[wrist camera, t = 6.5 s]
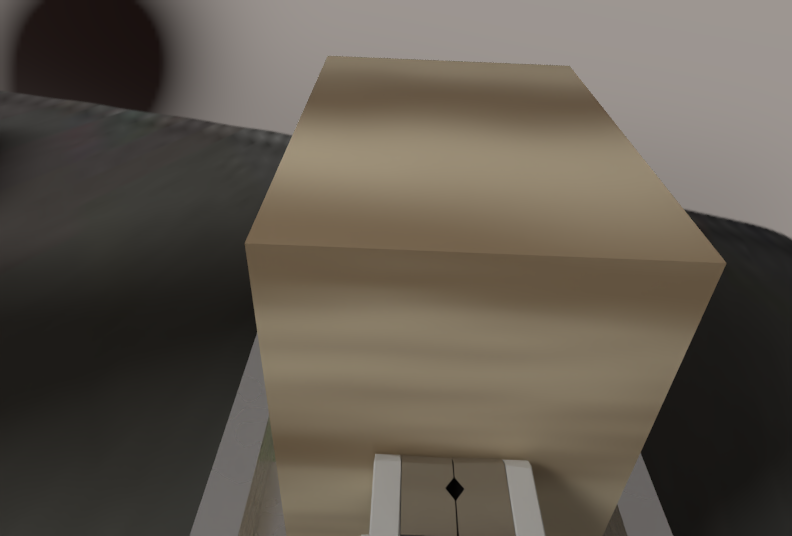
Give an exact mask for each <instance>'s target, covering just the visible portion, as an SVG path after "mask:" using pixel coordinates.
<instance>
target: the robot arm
mask: <svg viewBox="0 0 792 536" xmlns="http://www.w3.org/2000/svg"><path fill="white" fill-rule="evenodd" d="M361 536H546V534H545V529H544V524H543V520H542V515H541V510H540V505H539V500H538V495H537V490H536V485H535V480H534V476H533V471H532V466H531V464H530V463H529V461H528V460H502V459H500V458H461V457H452V458H442V457H425V456H408V455H393V454H375V459H374V468H373V484H372V499H371V515H370V530H369V534H362V535H361Z"/></svg>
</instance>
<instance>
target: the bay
mask: <svg viewBox="0 0 792 536" xmlns="http://www.w3.org/2000/svg"><path fill="white" fill-rule="evenodd" d="M190 536H286V529H285V522H284V515H283V508H282V501H281V494H280V487H279V480H278V473H277V466H276V459H275V452H274V445H273V438H272V431H271V424H270V417H269V410H268V403H267V396H266V389H265V382H264V375H263V368H262V361H261V354H260V347H259V340H258V333H257V334H256V337H255V340H254V343H253V346H252V349H251V352H250V355H249V359H248V362H247V365H246V368H245V371H244V374H243V377H242V380H241V383H240V386H239V389H238V392H237V395H236V398H235V401H234V404H233V407H232V410H231V413H230V416H229V419H228V422H227V425H226V428H225V431H224V434H223V437H222V440H221V443H220V446H219V449H218V452H217V455H216V458H215V461H214V464H213V467H212V470H211V473H210V476H209V479H208V482H207V485H206V488H205V491H204V494H203V497H202V500H201V503H200V506H199V509H198V512H197V515H196V518H195V521H194V524H193V527H192V530H191V533H190ZM603 536H673V534H672V532H671V529H670V527H669V524H668V522H667V519H666V517H665V514H664V511H663V509H662V506H661V504H660V501H659V499H658V496H657V494H656V491H655V488H654V486H653V483H652V481H651V478H650V476H649V473H648V471H647V468H646V465H645V463H644V460H643V458H642V455H641V453H640V455H639V457H638V459H637V461H636V464H635V466H634V468H633V470H632V472H631V475H630V477H629V479H628V481H627V483H626V486H625V488H624V490H623V492H622V494H621V497H620V499H619V501H618V503H617V505H616V508H615V510H614V512H613V514H612V516H611V519H610V521H609V523H608V525H607V527H606V530H605V532H604V534H603Z"/></svg>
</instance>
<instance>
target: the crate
mask: <svg viewBox="0 0 792 536" xmlns="http://www.w3.org/2000/svg"><path fill="white" fill-rule="evenodd" d="M245 249H246V256H247V263H248V270H249V277H250V284H251V291H252V298H253V305H254V312H255V319H256V326H257V333H258V340H259V347H260V354H261V361H262V368H263V375H264V382H265V389H266V396H267V403H268V410H269V417H270V424H271V431H272V438H273V445H274V452H275V459H276V466H277V473H278V480H279V487H280V494H281V501H282V508H283V515H284V522H285V529H286V536H361V535H362V534H369V530H370V515H371V499H372V484H373V468H374V459H375V454H393V455H408V456H425V457H442V458H452V457H461V458H500V459H502V460H528V461H529V463H530V464H531V466H532V471H533V476H534V480H535V485H536V490H537V495H538V500H539V505H540V510H541V515H542V520H543V524H544V529H545V534H546V536H603V534H604V532H605V530H606V527H607V525H608V523H609V521H610V519H611V516H612V514H613V512H614V510H615V508H616V505H617V503H618V501H619V499H620V497H621V494H622V492H623V490H624V488H625V486H626V483H627V481H628V479H629V477H630V475H631V472H632V470H633V468H634V466H635V464H636V461H637V459H638V457H639V455H640V453H641V450H642V448H643V446H644V444H645V441H646V439H647V437H648V435H649V433H650V430H651V428H652V426H653V424H654V422H655V419H656V417H657V415H658V413H659V411H660V408H661V406H662V404H663V402H664V400H665V397H666V395H667V393H668V391H669V389H670V386H671V384H672V382H673V380H674V378H675V375H676V373H677V371H678V369H679V367H680V364H681V362H682V360H683V358H684V356H685V353H686V351H687V349H688V347H689V345H690V342H691V340H692V338H693V336H694V334H695V331H696V329H697V327H698V325H699V323H700V320H701V318H702V316H703V314H704V312H705V309H706V307H707V305H708V303H709V301H710V298H711V296H712V294H713V292H714V290H715V287H716V285H717V283H718V281H719V279H720V276H721V274H722V272H723V270H724V267H725V265H726V262H725V261H724V259H723V258H722V257H721V256H720V254H719V253H718V252H717V251H716V249H715V248H714V247H713V246H712V244H711V243H710V242H709V241H708V239H707V238H706V237H705V236H704V234H703V233H702V232H701V231H700V229H699V228H698V227H697V226H696V224H695V223H694V222H693V220H692V219H691V218H690V217H689V215H688V214H687V213H686V212H685V210H684V209H683V208H682V207H681V205H680V204H679V203H678V202H677V200H676V199H675V198H674V197H673V195H672V194H671V193H670V192H669V190H668V189H667V188H666V187H665V185H664V184H663V183H662V182H661V180H660V179H659V178H658V177H657V175H656V174H655V173H654V171H653V170H652V169H651V168H650V166H649V165H648V164H647V163H646V161H645V160H644V159H643V158H642V156H641V155H640V154H639V153H638V152H637V150H636V149H635V148H634V146H633V145H632V144H631V143H630V141H629V140H628V139H627V138H626V136H625V135H624V134H623V133H622V131H621V130H620V129H619V128H618V126H617V125H616V124H615V123H614V121H613V120H612V119H611V118H610V117H609V115H608V114H607V112H606V111H605V110H604V109H603V107H602V106H601V105H600V104H599V102H598V101H597V100H596V99H595V97H594V96H593V95H592V94H591V92H590V91H589V90H588V89H587V87H586V86H585V85H584V84H583V82H582V81H581V80H580V79H579V78H578V76H577V75H576V74H575V72H574V71H573V70H572V69H571V67H570V66H558V65H556V66H555V65H534V64H510V63H486V62H463V61H438V60H414V59H391V58H367V57H343V56H342V57H341V56H328V57H327V59H326V61H325V64H324V66H323V68H322V70H321V72H320V75H319V77H318V79H317V82H316V84H315V86H314V88H313V90H312V93H311V95H310V97H309V99H308V102H307V104H306V106H305V109H304V111H303V113H302V115H301V117H300V120H299V122H298V124H297V127H296V129H295V131H294V133H293V136H292V138H291V140H290V142H289V145H288V147H287V149H286V151H285V154H284V156H283V158H282V160H281V163H280V165H279V167H278V169H277V172H276V174H275V176H274V178H273V181H272V183H271V185H270V187H269V190H268V192H267V194H266V196H265V199H264V201H263V203H262V205H261V208H260V210H259V212H258V214H257V217H256V219H255V221H254V223H253V226H252V228H251V230H250V232H249V235H248V237H247V239H246V241H245Z"/></svg>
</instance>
